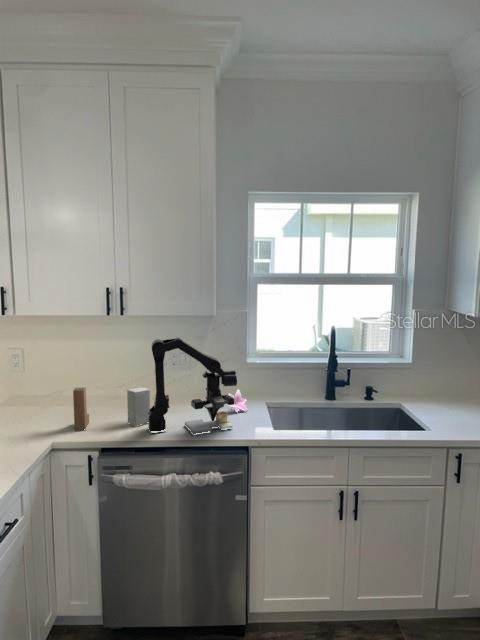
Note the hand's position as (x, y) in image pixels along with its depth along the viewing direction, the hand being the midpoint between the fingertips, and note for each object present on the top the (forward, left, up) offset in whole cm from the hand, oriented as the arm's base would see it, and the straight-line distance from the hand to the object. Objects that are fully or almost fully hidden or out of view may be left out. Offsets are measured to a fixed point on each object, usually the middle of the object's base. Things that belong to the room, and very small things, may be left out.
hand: (212, 420), depth 194 cm
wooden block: (-53, +23, -3) cm, 58 cm away
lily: (+19, +15, -3) cm, 24 cm away
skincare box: (-29, +18, -3) cm, 34 cm away
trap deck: (-2, 0, -3) cm, 4 cm away
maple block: (+4, 0, -1) cm, 4 cm away
